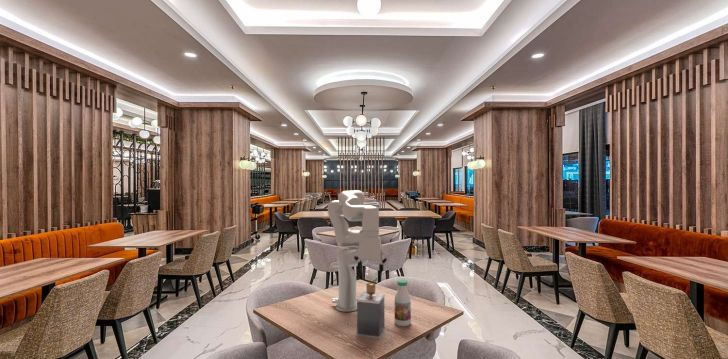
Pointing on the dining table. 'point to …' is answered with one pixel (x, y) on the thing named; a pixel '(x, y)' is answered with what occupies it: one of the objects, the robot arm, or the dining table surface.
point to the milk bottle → (402, 305)
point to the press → (370, 315)
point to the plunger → (370, 288)
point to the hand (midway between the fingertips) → (370, 271)
